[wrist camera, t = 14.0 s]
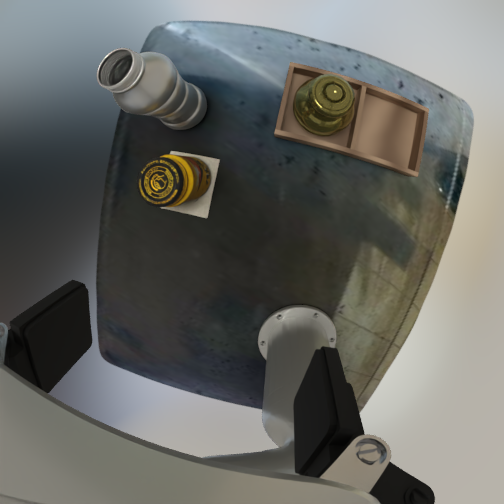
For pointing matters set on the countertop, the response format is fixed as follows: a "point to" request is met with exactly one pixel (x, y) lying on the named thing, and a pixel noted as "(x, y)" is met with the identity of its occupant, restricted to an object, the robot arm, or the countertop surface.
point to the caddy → (363, 124)
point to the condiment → (179, 182)
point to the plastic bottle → (152, 88)
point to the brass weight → (324, 105)
